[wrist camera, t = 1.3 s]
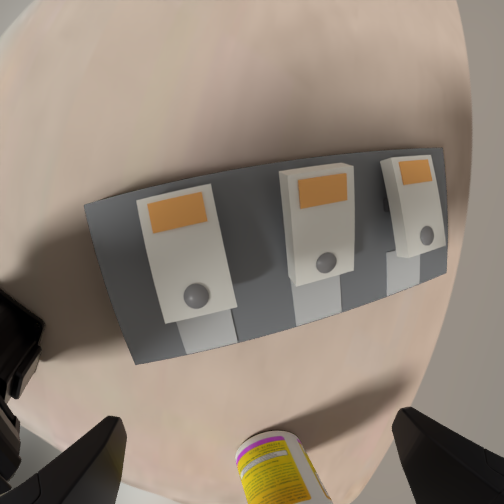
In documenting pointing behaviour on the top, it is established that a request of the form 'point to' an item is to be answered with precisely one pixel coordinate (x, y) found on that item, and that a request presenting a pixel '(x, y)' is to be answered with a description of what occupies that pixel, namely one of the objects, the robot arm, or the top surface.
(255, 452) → the supplement bottle
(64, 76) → the top surface
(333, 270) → the rocker middle
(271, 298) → the rocker switch panel
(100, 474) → the robot arm
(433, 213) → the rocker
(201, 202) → the block
